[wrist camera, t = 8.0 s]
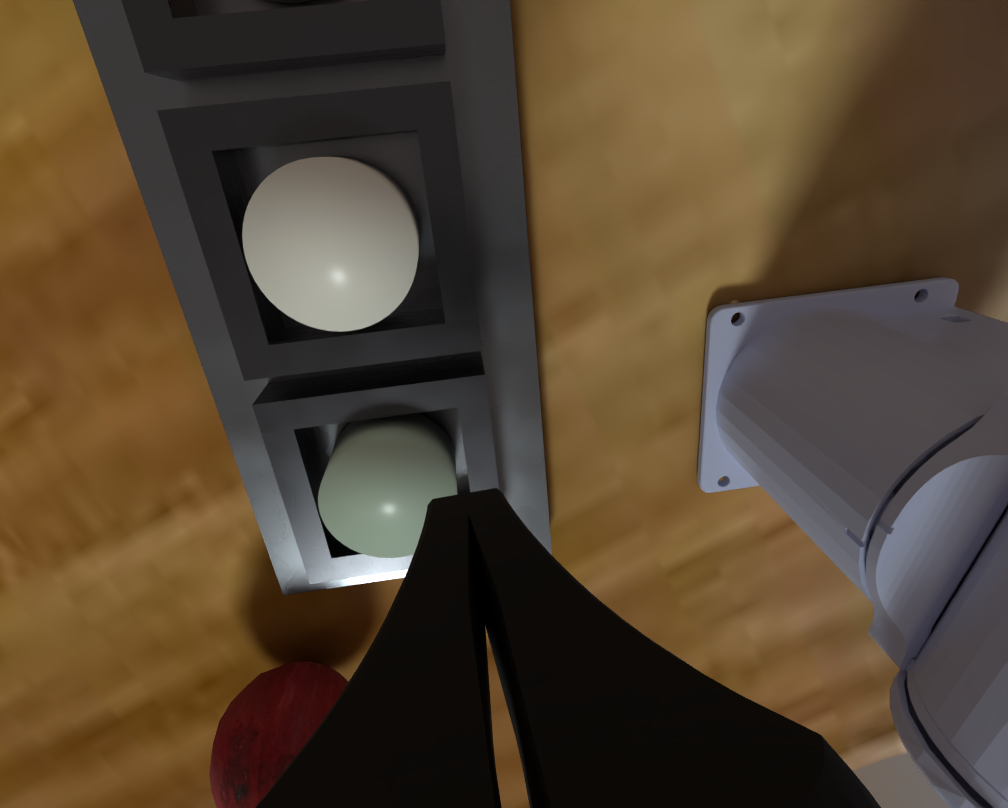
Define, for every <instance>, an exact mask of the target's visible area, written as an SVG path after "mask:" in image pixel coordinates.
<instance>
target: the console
mask: <svg viewBox="0 0 1008 808" xmlns="http://www.w3.org/2000/svg"><path fill="white" fill-rule="evenodd" d="M73 2H74V5H75V8H76V11H77V14H78V16H79V19H80V22H81V25H82V28H83V31H84V33H85V36H86V39H87V42H88V45H89V48H90V50H91V53H92V56H93V59H94V62H95V64H96V67H97V70H98V73H99V76H100V79H101V81H102V84H103V87H104V90H105V93H106V96H107V98H108V101H109V104H110V107H111V110H112V113H113V115H114V118H115V121H116V124H117V127H118V129H119V132H120V135H121V138H122V141H123V144H124V146H125V149H126V152H127V155H128V158H129V161H130V163H131V166H132V169H133V172H134V175H135V177H136V180H137V183H138V186H139V189H140V192H141V194H142V197H143V200H144V203H145V206H146V209H147V211H148V214H149V217H150V220H151V223H152V226H153V228H154V231H155V234H156V237H157V240H158V242H159V245H160V248H161V251H162V254H163V257H164V259H165V262H166V265H167V268H168V271H169V274H170V276H171V279H172V282H173V285H174V288H175V291H176V293H177V296H178V299H179V302H180V305H181V307H182V310H183V313H184V316H185V319H186V322H187V324H188V327H189V330H190V333H191V336H192V339H193V341H194V344H195V347H196V350H197V353H198V356H199V358H200V361H201V364H202V367H203V370H204V372H205V375H206V378H207V381H208V384H209V387H210V389H211V392H212V395H213V398H214V401H215V404H216V406H217V409H218V412H219V415H220V418H221V421H222V423H223V426H224V429H225V432H226V435H227V437H228V440H229V443H230V446H231V449H232V452H233V454H234V457H235V460H236V463H237V466H238V469H239V471H240V474H241V477H242V480H243V483H244V486H245V488H246V491H247V494H248V497H249V500H250V502H251V505H252V508H253V511H254V514H255V517H256V519H257V522H258V525H259V528H260V531H261V534H262V536H263V539H264V542H265V545H266V548H267V550H268V553H269V556H270V559H271V562H272V565H273V567H274V570H275V573H276V576H277V579H278V582H279V584H280V587H281V590H282V593H283V595H289V594H296V593H302V592H309V591H316V590H322V589H329V588H336V587H342V586H349V585H356V584H363V583H369V582H376V581H383V580H389V579H396V578H403V577H405V576H406V573H407V570H408V568H409V565H410V563H411V560H412V558H413V555H414V554H413V555H409V556H404V557H398V558H380V557H373V556H368V555H365V554H362V553H359V552H356V551H354V550H352V549H350V548H348V547H347V546H345V545H343V544H342V543H341V542H340V541H338V540H337V539H336V538H335V537H334V536H333V535H332V534H331V533H330V531H329V530H328V529H327V528H326V526H325V524H324V522H323V520H322V518H321V515H320V511H319V507H318V494H319V489H320V485H321V482H322V479H323V476H324V473H325V471H326V468H327V465H328V462H329V459H330V457H331V454H332V451H333V448H334V445H335V443H336V441H337V439H338V437H339V435H340V434H341V432H342V431H343V430H344V429H345V428H346V427H347V426H348V425H349V424H350V423H351V422H352V421H360V420H367V419H375V418H383V417H390V416H398V415H405V414H413V413H418V414H421V415H423V416H425V417H427V418H429V419H430V420H432V421H433V422H435V423H436V424H437V425H438V426H439V427H440V428H441V429H442V430H443V431H444V432H445V433H446V435H447V436H448V438H449V440H450V441H451V443H452V446H453V449H454V453H455V460H456V479H457V495H458V494H464V493H469V492H475V491H481V490H487V489H492V488H497V489H499V490H500V491H501V492H503V494H504V496H505V498H506V499H507V501H508V502H509V504H510V505H511V507H512V508H513V510H514V511H515V512H516V514H517V515H518V516H519V518H520V519H521V520H522V522H523V523H524V524H525V525H526V527H527V528H528V529H529V530H530V531H531V533H532V534H533V535H534V536H535V537H536V538H537V540H538V541H539V542H540V543H541V544H542V545H543V546H544V547H545V548H546V549H547V551H548V552H549V553H550V554H551V555H552V549H551V536H550V523H549V510H548V497H547V484H546V470H545V457H544V444H543V431H542V418H541V404H540V391H539V378H538V365H537V352H536V338H535V325H534V312H533V299H532V286H531V272H530V259H529V246H528V233H527V220H526V206H525V193H524V180H523V167H522V154H521V140H520V127H519V114H518V101H517V88H516V74H515V61H514V48H513V35H512V22H511V8H510V0H310V1H305V2H299V3H282V2H275V1H271V0H73ZM328 156H345V157H352V158H356V159H360V160H363V161H366V162H368V163H371V164H373V165H374V166H376V167H378V168H380V169H381V170H383V171H384V172H386V173H387V174H388V175H390V176H391V177H392V178H393V179H394V180H395V181H396V182H397V183H398V184H399V185H400V187H401V188H402V189H403V190H404V192H405V193H406V195H407V196H408V198H409V199H410V201H411V203H412V205H413V207H414V209H415V212H416V215H417V218H418V222H419V227H420V237H421V240H420V252H419V258H418V263H417V268H416V273H415V276H414V280H413V283H412V285H411V287H410V289H409V291H408V293H407V295H406V296H405V298H404V300H403V301H402V302H401V303H400V305H399V306H398V307H397V308H396V309H395V310H394V311H393V312H392V313H391V314H389V315H388V316H387V317H385V318H384V319H382V320H381V321H379V322H377V323H375V324H373V325H371V326H368V327H365V328H362V329H358V330H353V331H341V332H338V331H327V330H321V329H317V328H313V327H310V326H307V325H305V324H302V323H300V322H298V321H296V320H294V319H293V318H291V317H289V316H287V315H286V314H285V313H283V312H282V311H281V310H279V309H278V308H277V307H276V306H275V305H274V304H273V303H272V302H271V301H270V300H269V299H268V298H267V297H266V296H265V295H264V293H263V292H262V291H261V289H260V288H259V286H258V285H257V283H256V282H255V280H254V278H253V276H252V274H251V272H250V270H249V267H248V264H247V262H246V258H245V254H244V249H243V239H242V232H243V221H244V216H245V212H246V209H247V206H248V203H249V201H250V199H251V197H252V195H253V194H254V192H255V191H256V189H257V188H258V187H259V185H260V184H261V183H262V182H263V181H264V180H265V179H266V178H267V177H268V176H269V175H270V174H272V173H273V172H274V171H276V170H277V169H279V168H280V167H282V166H284V165H286V164H288V163H291V162H294V161H297V160H300V159H306V158H312V157H328Z"/></svg>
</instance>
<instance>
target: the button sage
mask: <svg viewBox="0 0 1008 808" xmlns="http://www.w3.org/2000/svg"><path fill="white" fill-rule="evenodd" d="M452 495H457V479H456V460H455V453H454V449H453V446H452V443H451V441H450V440H449V438H448V436H447V435H446V433H445V432H444V431H443V430H442V429H441V428H440V427H439V426H438V425H437V424H436V423H435V422H433V421H432V420H430V419H429V418H427V417H425V416H423V415H421V414H418V413H413V414H405V415H398V416H390V417H383V418H375V419H367V420H360V421H352V422H351V423H350V424H349V425H348V426H347V427H346V428H345V429H344V430H343V431H342V432H341V434H340V435H339V437H338V439H337V441H336V443H335V445H334V448H333V451H332V454H331V457H330V459H329V462H328V465H327V468H326V471H325V473H324V476H323V479H322V482H321V485H320V489H319V494H318V507H319V511H320V515H321V518H322V520H323V522H324V524H325V526H326V528H327V529H328V530H329V531H330V533H331V534H332V535H333V536H334V537H335V538H336V539H337V540H338V541H340V542H341V543H342V544H343V545H345V546H347V547H348V548H350V549H352V550H354V551H356V552H359V553H362V554H365V555H368V556H373V557H380V558H398V557H404V556H409V555H413V554H414V552H415V550H416V547H417V544H418V541H419V538H420V535H421V532H422V528H423V525H424V521H425V517H426V512H427V505H428V504H429V503H430V501H431V500H432V499H435V498H441V497H446V496H452Z"/></svg>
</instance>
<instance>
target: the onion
mask: <svg viewBox="0 0 1008 808" xmlns="http://www.w3.org/2000/svg"><path fill="white" fill-rule="evenodd" d="M347 684H348V681H347V680H346V679H345V678H344V677H343V676H342V675H341V674H340V673H338V672H337V671H335V670H334V669H332V668H331V667H329V666H327V665H324V664H320V663H316V662H312V661H305V662H291V663H288V664H285V665H282V666H280V667H277V668H274V669H272V670H269V671H267V672H264V673H261V674H260V675H259V676H257V677H256V678H255V679H254V680H253V681H252V682H251V683H250V684H249V685H247V686H246V687H245V688H244V689H243V690H242V691H241V692H240V693H239V694H238V695H237V696H236V697H235V698H234V699H233V701H232V702H231V703H230V705H229V707H228V708H227V710H226V711H225V713H224V715H223V716H222V718H221V719H220V722H219V725H218V729H217V732H216V735H215V739H214V743H213V749H212V756H211V766H210V782H211V790H212V794H213V797H214V800H215V804H216V806H217V808H255V807H256V806H257V805H258V803H259V802H260V801H261V800H262V799H263V797H264V796H265V795H266V794H267V792H268V791H269V790H270V789H271V788H272V786H273V785H274V784H275V783H276V781H277V780H278V779H279V777H280V776H281V775H282V773H283V772H284V771H285V770H286V768H287V767H288V766H289V764H290V763H291V762H292V761H293V759H294V758H295V757H296V755H297V754H298V753H299V751H300V750H301V749H302V748H303V746H304V745H305V744H306V742H307V741H308V740H309V739H310V737H311V736H312V735H313V733H314V732H315V731H316V729H317V728H318V727H319V725H320V724H321V722H322V721H323V720H324V718H325V717H326V715H327V714H328V712H329V711H330V710H331V708H332V707H333V705H334V704H335V702H336V701H337V699H338V698H339V696H340V695H341V693H342V692H343V690H344V688H345V687H346V685H347Z"/></svg>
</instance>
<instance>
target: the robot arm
mask: <svg viewBox="0 0 1008 808" xmlns="http://www.w3.org/2000/svg"><path fill="white" fill-rule="evenodd" d="M919 290H920V293H919V295H918V297H917V298H916V299H914V297H915V294H916V293H917V292H918V291H919ZM958 291H959V285H958V282H957V281H956V280H954V279H951V278H946V277H940V278H932V279H924V280H916V281H908V282H900V283H892V284H884V285H876V286H869V287H861V288H853V289H845V290H837V291H829V292H821V293H813V294H805V295H797V296H789V297H781V298H773V299H765V300H757V301H750V302H742V303H734V304H726V305H720V306H717V307H715V308H714V309H712V310H711V312H710V313H709V315H708V318H707V330H706V346H705V362H704V378H703V394H702V410H701V426H700V442H699V458H698V474H697V483H698V485H699V486H700V488H701V489H702V490H703V491H704V492H707V493H712V492H719V491H726V490H733V489H739V488H746V487H753V486H761V487H762V488H763V489H764V490H765V491H766V492H767V493H768V494H769V495H770V496H771V497H772V498H773V500H774V501H775V502H776V503H777V504H778V505H779V506H780V507H781V508H782V509H783V510H784V511H785V512H786V513H787V514H788V515H789V516H790V517H791V518H792V519H793V520H794V522H795V523H796V524H797V525H798V526H799V527H800V528H801V529H802V530H803V531H804V532H805V533H806V534H807V535H808V536H809V537H810V538H811V539H812V540H813V541H814V542H815V544H816V545H817V546H818V547H819V548H820V549H821V550H822V551H823V552H824V553H825V554H826V555H827V556H828V557H829V558H830V559H831V560H832V561H833V562H834V563H835V564H836V566H837V567H838V568H839V569H840V570H841V571H842V572H843V573H844V574H845V575H846V576H847V577H848V578H849V579H850V580H851V581H852V582H853V583H854V584H855V585H856V587H857V588H858V589H859V590H860V591H861V592H862V593H863V594H864V595H865V596H866V597H867V598H868V599H869V600H870V601H871V602H872V603H873V605H874V618H873V621H872V624H871V626H870V628H869V632H868V633H869V634H870V636H871V637H872V638H873V639H874V640H875V641H876V642H877V643H878V645H879V646H880V647H881V648H882V649H883V650H884V651H885V652H886V654H887V655H888V656H889V657H890V658H891V659H892V660H893V661H894V663H895V664H896V665H897V666H898V667H899V668H900V670H899V671H898V673H897V674H896V676H895V677H894V679H893V682H892V685H891V688H890V709H891V713H892V717H893V721H894V725H895V727H896V729H897V731H898V734H899V736H900V738H901V741H902V743H903V744H904V746H905V748H906V749H907V751H908V753H909V754H910V756H911V758H912V759H913V761H914V763H915V764H916V766H917V767H918V769H919V770H920V771H921V773H922V774H923V775H924V777H925V778H926V779H927V781H928V782H929V783H930V785H931V786H932V787H933V789H934V790H935V791H936V792H937V793H938V795H939V796H940V797H941V798H942V799H943V800H944V801H945V802H946V804H947V805H948V806H949V807H950V808H1008V323H1007V322H1004V321H1000V320H997V319H994V318H991V317H987V316H984V315H981V314H977V313H974V312H971V311H968V310H964V309H961V308H958V307H955V303H956V299H957V295H958ZM738 312H739V313H740V316H739V319H738V320H737V321H736V322H734V323H731V318H732V316H733V315H734V314H735V313H738ZM723 476H725V479H724V480H722V481H720V482H718V480H719V479H720V478H721V477H723ZM485 626H486V630H487V633H488V637H489V641H490V644H491V648H492V652H493V655H494V659H495V663H496V667H497V670H498V674H499V678H500V681H501V685H502V689H503V692H504V696H505V700H506V703H507V707H508V711H509V714H510V718H511V722H512V725H513V729H514V733H515V736H516V740H517V745H518V749H519V753H520V758H521V762H522V767H523V772H524V778H525V783H526V788H527V794H528V799H529V805H530V808H881V807H880V806H879V804H878V803H877V802H876V800H875V799H874V798H873V796H872V795H871V794H870V792H869V791H868V790H867V788H866V787H865V786H864V785H863V784H862V782H861V781H860V780H859V779H858V778H857V776H856V775H855V774H854V772H853V771H852V770H851V769H850V768H849V767H848V765H847V764H846V763H845V762H844V761H843V760H842V759H841V757H840V756H839V755H838V754H837V753H836V752H835V751H834V749H833V748H832V747H831V746H830V745H829V744H828V743H827V741H826V740H825V739H824V738H823V737H822V736H821V735H820V734H818V733H816V732H814V731H812V730H810V729H808V728H806V727H804V726H802V725H800V724H798V723H796V722H794V721H792V720H790V719H788V718H786V717H784V716H782V715H780V714H777V713H775V712H773V711H771V710H769V709H767V708H765V707H763V706H761V705H759V704H757V703H755V702H753V701H751V700H749V699H747V698H745V697H743V696H741V695H739V694H738V693H736V692H734V691H732V690H730V689H729V688H727V687H725V686H723V685H722V684H720V683H718V682H716V681H715V680H713V679H711V678H709V677H708V676H706V675H704V674H702V673H701V672H699V671H698V670H696V669H695V668H693V667H692V666H690V665H689V664H687V663H686V662H684V661H682V660H681V659H679V658H678V657H676V656H675V655H673V654H672V653H670V652H669V651H667V650H666V649H664V648H663V647H661V646H660V645H658V644H656V643H655V642H653V641H652V640H650V639H649V638H647V637H646V636H645V635H643V634H642V633H641V632H639V631H638V630H637V629H635V628H634V627H633V626H631V625H630V624H629V623H627V622H626V621H625V620H623V619H622V618H621V617H619V616H618V615H617V614H616V613H614V612H613V611H612V610H611V609H609V608H608V607H607V606H606V605H604V604H603V603H602V602H601V601H600V600H598V599H597V598H596V597H595V596H594V595H593V594H591V593H590V592H589V591H588V590H587V589H586V588H585V587H584V586H583V585H581V584H580V583H579V582H578V581H577V580H576V579H575V578H574V577H573V576H572V575H571V574H570V573H569V572H568V571H567V570H566V569H565V568H564V567H563V566H562V565H561V564H560V563H559V562H558V561H557V560H556V559H555V558H554V557H553V556H552V555H551V554H550V553H549V552H548V551H547V549H546V548H545V547H544V546H543V545H542V544H541V543H540V542H539V541H538V540H537V538H536V537H535V536H534V535H533V534H532V533H531V531H530V530H529V529H528V528H527V527H526V525H525V524H524V523H523V522H522V520H521V519H520V518H519V516H518V515H517V514H516V512H515V511H514V510H513V508H512V507H511V505H510V504H509V502H508V501H507V499H506V498H505V496H504V494H503V492H501V491H500V490H499V489H497V488H492V489H487V490H481V491H475V492H469V493H464V494H458V495H452V496H446V497H441V498H435V499H432V500H431V501H430V503H429V504H428V505H427V512H426V517H425V521H424V525H423V528H422V532H421V535H420V538H419V541H418V544H417V547H416V550H415V552H414V555H413V558H412V560H411V563H410V565H409V568H408V570H407V573H406V576H405V578H404V580H403V583H402V585H401V587H400V589H399V591H398V593H397V595H396V598H395V600H394V602H393V604H392V606H391V608H390V610H389V612H388V615H387V617H386V619H385V621H384V623H383V624H382V626H381V628H380V630H379V632H378V634H377V636H376V637H375V639H374V641H373V643H372V645H371V646H370V648H369V650H368V652H367V653H366V655H365V657H364V658H363V660H362V662H361V663H360V665H359V667H358V668H357V670H356V672H355V673H354V675H353V676H352V678H351V679H350V681H349V682H348V684H347V685H346V687H345V688H344V690H343V692H342V693H341V695H340V696H339V698H338V699H337V701H336V702H335V704H334V705H333V707H332V708H331V710H330V711H329V712H328V714H327V715H326V717H325V718H324V720H323V721H322V722H321V724H320V725H319V727H318V728H317V729H316V731H315V732H314V733H313V735H312V736H311V737H310V739H309V740H308V741H307V742H306V744H305V745H304V746H303V748H302V749H301V750H300V751H299V753H298V754H297V755H296V757H295V758H294V759H293V761H292V762H291V763H290V764H289V766H288V767H287V768H286V770H285V771H284V772H283V773H282V775H281V776H280V777H279V779H278V780H277V781H276V783H275V784H274V785H273V786H272V788H271V789H270V790H269V791H268V792H267V794H266V795H265V796H264V797H263V799H262V800H261V801H260V802H259V803H258V805H257V806H256V807H255V808H501V801H500V794H499V788H498V781H497V774H496V766H495V757H494V747H493V735H492V720H491V705H490V690H489V675H488V660H487V645H486V630H485Z"/></svg>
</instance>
